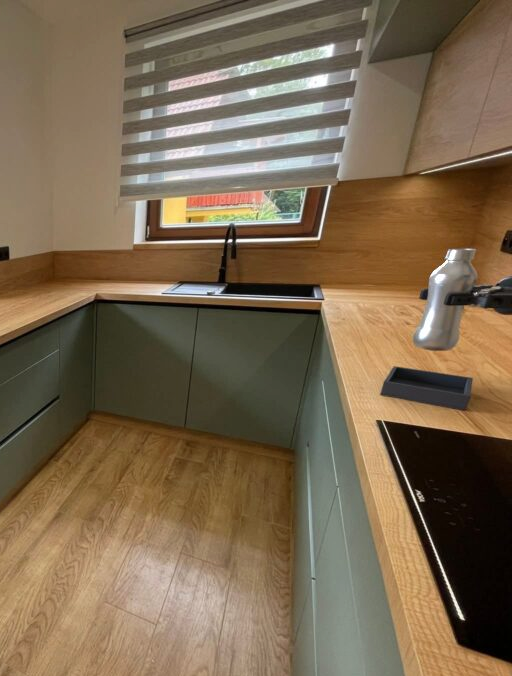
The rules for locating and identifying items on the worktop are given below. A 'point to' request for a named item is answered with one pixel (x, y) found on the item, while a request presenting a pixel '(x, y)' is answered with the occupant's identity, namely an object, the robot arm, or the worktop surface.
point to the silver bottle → (440, 319)
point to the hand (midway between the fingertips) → (433, 296)
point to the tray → (428, 387)
